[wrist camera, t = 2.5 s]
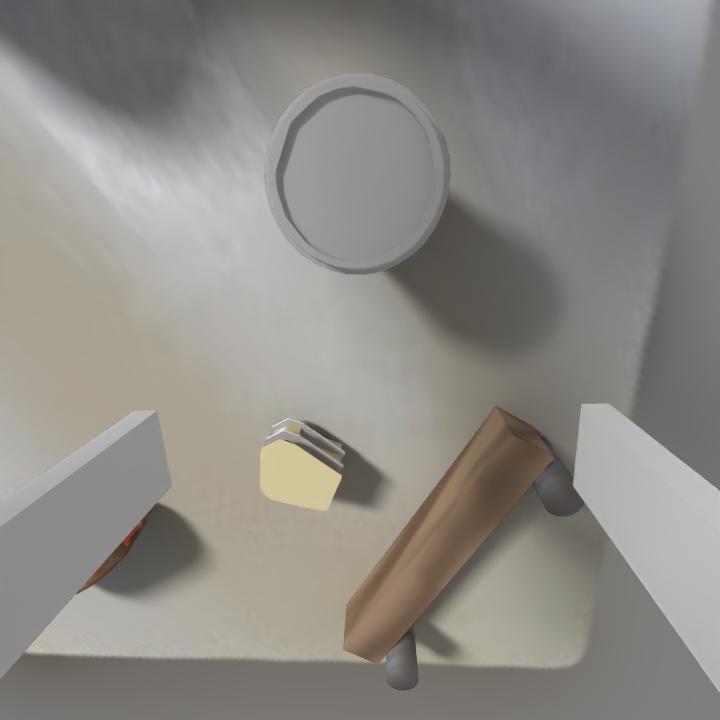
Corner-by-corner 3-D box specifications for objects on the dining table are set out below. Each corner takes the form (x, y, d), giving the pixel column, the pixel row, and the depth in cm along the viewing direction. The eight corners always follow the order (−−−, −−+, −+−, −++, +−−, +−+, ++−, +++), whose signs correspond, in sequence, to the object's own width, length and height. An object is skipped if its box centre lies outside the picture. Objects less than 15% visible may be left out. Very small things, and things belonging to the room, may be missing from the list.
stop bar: (346, 604, 46) (341, 670, 40) (496, 406, 37) (520, 449, 31) (401, 628, 47) (405, 697, 41) (560, 441, 38) (597, 490, 32)
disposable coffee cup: (375, 85, 29) (373, 11, 18) (452, 200, 32) (492, 197, 21) (275, 177, 32) (217, 162, 20) (353, 277, 34) (340, 314, 23)
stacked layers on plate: (373, 421, 39) (372, 454, 34) (340, 495, 42) (334, 536, 37) (270, 383, 38) (253, 411, 33) (244, 462, 41) (224, 499, 36)
